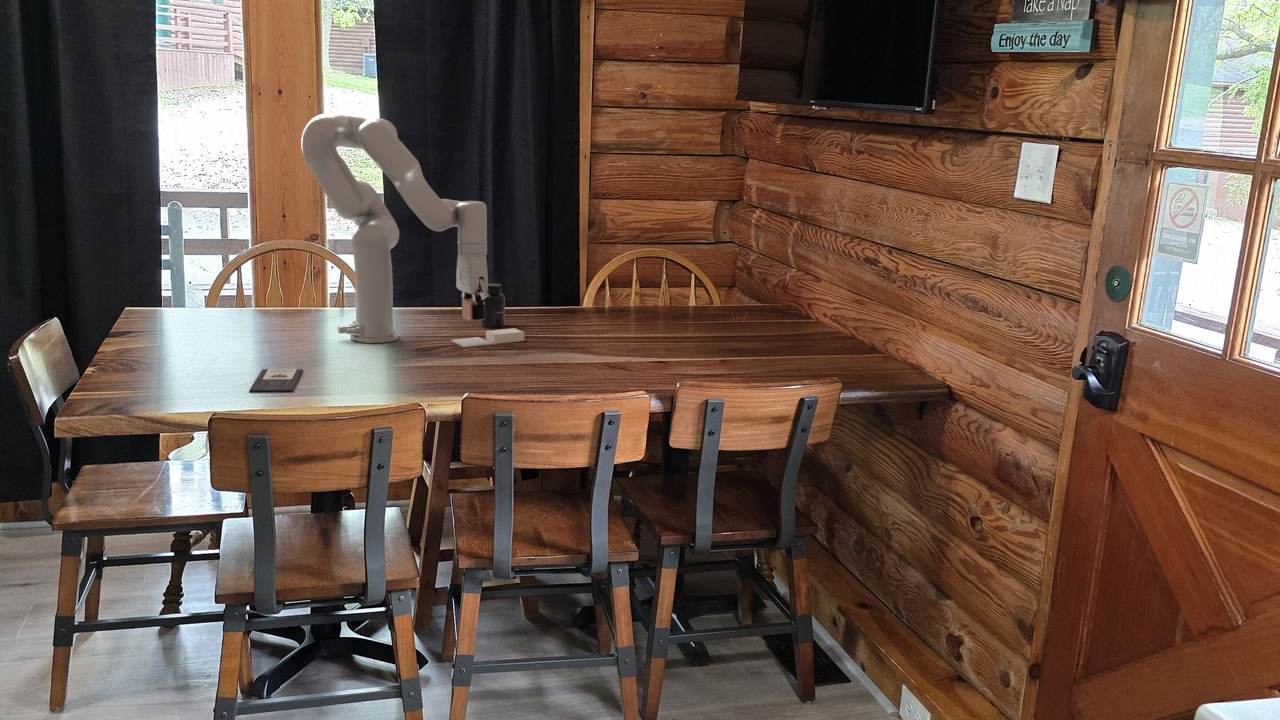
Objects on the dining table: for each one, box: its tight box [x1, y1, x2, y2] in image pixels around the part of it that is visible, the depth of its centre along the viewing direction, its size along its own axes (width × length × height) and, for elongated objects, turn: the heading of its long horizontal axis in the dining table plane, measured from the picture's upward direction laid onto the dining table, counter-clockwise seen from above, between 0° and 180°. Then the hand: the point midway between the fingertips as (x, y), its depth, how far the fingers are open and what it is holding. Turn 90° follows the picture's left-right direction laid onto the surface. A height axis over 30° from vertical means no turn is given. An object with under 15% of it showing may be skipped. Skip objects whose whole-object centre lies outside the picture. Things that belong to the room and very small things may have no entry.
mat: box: [451, 336, 493, 348], centre depth 280 cm, size 8×8×1 cm
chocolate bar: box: [249, 368, 304, 394], centre depth 236 cm, size 9×1×18 cm
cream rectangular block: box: [485, 327, 525, 345], centre depth 285 cm, size 9×5×3 cm, turn 125°
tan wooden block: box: [461, 298, 484, 322], centre depth 278 cm, size 4×5×5 cm
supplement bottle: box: [480, 283, 506, 329], centre depth 301 cm, size 7×7×12 cm
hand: (473, 316), depth 279 cm, fingers closed on tan wooden block, 5 cm apart
